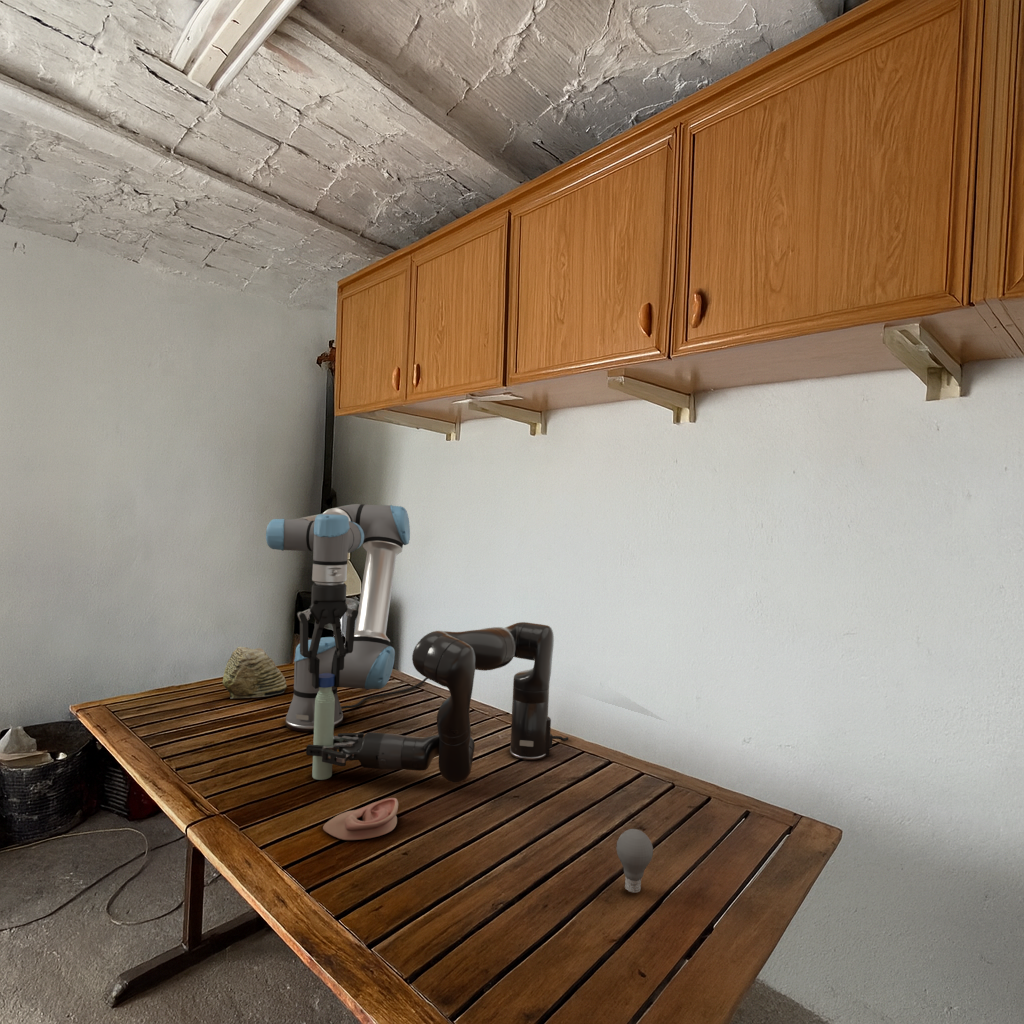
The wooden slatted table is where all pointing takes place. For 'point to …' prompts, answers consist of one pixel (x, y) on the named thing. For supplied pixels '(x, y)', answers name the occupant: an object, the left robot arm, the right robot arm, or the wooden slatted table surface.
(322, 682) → the cap
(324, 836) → the wooden slatted table surface
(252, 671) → the fossil
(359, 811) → the anatomical model
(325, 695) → the bottle
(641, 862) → the light bulb
